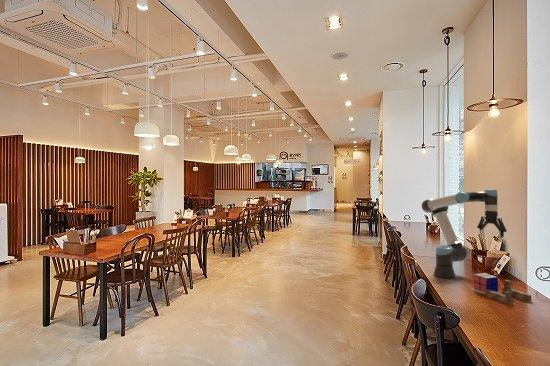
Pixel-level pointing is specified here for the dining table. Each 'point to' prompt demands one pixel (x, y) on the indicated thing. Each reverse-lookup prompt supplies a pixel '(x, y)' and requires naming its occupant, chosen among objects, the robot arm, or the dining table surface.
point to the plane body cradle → (508, 294)
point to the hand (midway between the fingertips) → (491, 240)
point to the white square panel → (480, 291)
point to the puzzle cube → (485, 282)
